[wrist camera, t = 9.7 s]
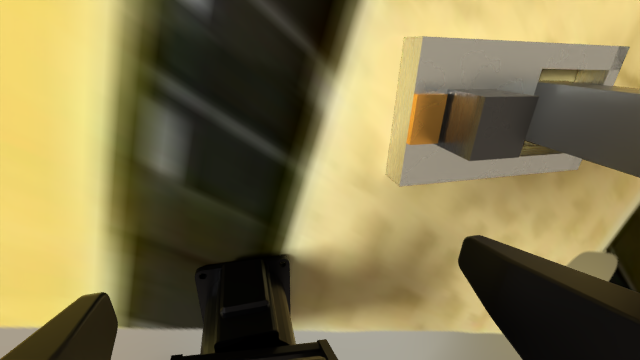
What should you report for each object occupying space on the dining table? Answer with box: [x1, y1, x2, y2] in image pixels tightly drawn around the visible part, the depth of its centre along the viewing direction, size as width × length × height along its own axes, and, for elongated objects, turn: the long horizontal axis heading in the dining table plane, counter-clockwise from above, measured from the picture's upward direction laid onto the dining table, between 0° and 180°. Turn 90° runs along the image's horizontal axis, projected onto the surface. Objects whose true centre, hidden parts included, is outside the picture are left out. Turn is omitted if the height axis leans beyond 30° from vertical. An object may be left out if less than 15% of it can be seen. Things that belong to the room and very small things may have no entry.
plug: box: [525, 80, 640, 177], centre depth 18 cm, size 4×4×9 cm
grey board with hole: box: [386, 37, 629, 186], centre depth 19 cm, size 9×16×5 cm, turn 88°
